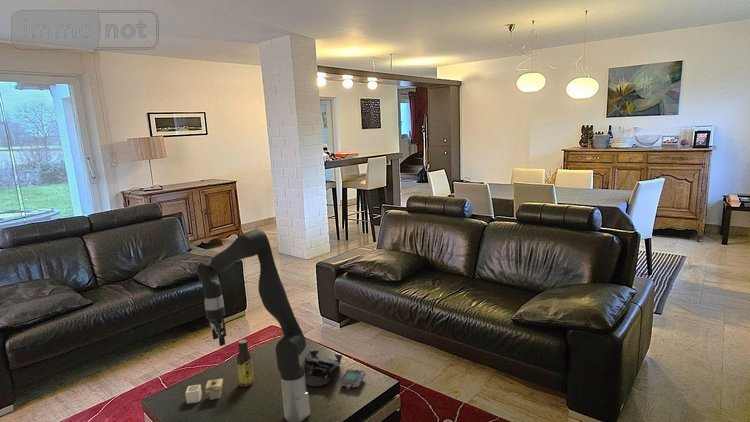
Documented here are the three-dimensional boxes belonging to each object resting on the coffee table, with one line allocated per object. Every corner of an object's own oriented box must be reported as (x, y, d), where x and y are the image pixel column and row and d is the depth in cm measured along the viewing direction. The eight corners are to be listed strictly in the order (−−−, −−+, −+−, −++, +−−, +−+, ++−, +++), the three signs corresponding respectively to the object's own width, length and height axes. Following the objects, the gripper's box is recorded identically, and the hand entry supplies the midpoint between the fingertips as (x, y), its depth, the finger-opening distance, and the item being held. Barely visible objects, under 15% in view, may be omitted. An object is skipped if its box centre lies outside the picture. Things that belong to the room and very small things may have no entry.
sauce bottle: (249, 388, 184) (245, 345, 181) (236, 387, 185) (231, 344, 182) (256, 380, 190) (252, 338, 187) (243, 379, 191) (239, 338, 188)
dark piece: (346, 366, 199) (344, 348, 197) (331, 390, 180) (329, 370, 178) (310, 363, 203) (309, 345, 202) (292, 386, 184) (290, 366, 183)
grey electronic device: (365, 370, 187) (357, 384, 177) (366, 376, 187) (358, 391, 177) (346, 369, 190) (337, 383, 180) (346, 375, 190) (338, 389, 180)
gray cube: (221, 392, 181) (220, 384, 181) (219, 398, 178) (218, 389, 177) (211, 394, 181) (210, 385, 180) (209, 399, 177) (208, 390, 176)
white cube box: (201, 395, 180) (200, 384, 180) (199, 402, 176) (198, 390, 175) (189, 397, 179) (188, 386, 179) (186, 404, 175) (185, 392, 174)
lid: (223, 382, 182) (222, 377, 182) (221, 390, 176) (220, 384, 176) (208, 384, 181) (207, 379, 180) (205, 392, 175) (205, 386, 175)
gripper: (200, 304, 183) (205, 339, 186) (211, 313, 172) (215, 350, 175) (217, 299, 188) (222, 334, 190) (229, 308, 177) (233, 344, 179)
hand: (219, 342), depth 182 cm, fingers open, 8 cm apart
